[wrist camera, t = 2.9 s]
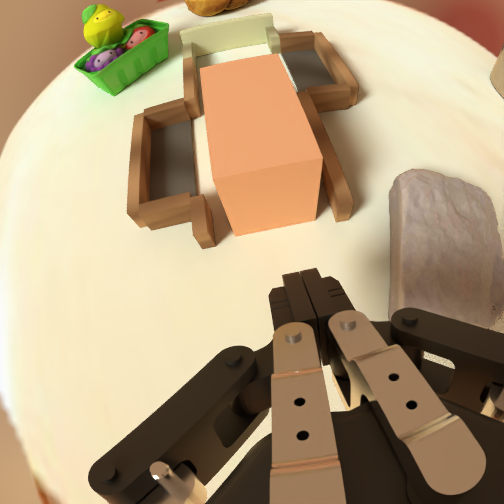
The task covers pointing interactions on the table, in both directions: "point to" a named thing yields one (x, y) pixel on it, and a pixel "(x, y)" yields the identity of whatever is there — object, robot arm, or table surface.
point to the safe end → (228, 34)
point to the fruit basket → (120, 48)
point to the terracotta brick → (260, 145)
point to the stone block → (444, 249)
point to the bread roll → (212, 6)
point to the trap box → (183, 110)
